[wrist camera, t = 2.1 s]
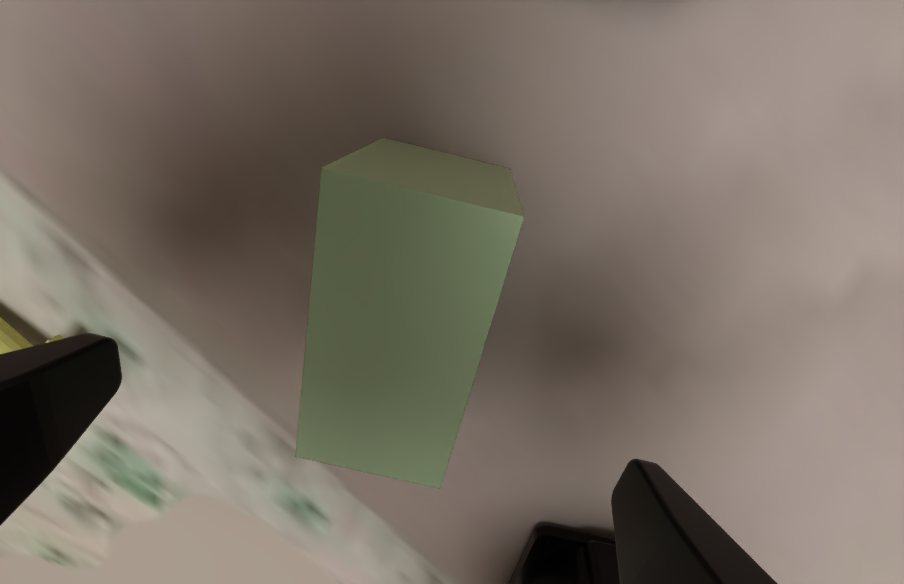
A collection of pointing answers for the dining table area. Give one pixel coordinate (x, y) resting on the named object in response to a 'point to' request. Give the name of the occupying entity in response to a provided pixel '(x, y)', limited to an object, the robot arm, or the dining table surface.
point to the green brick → (401, 305)
